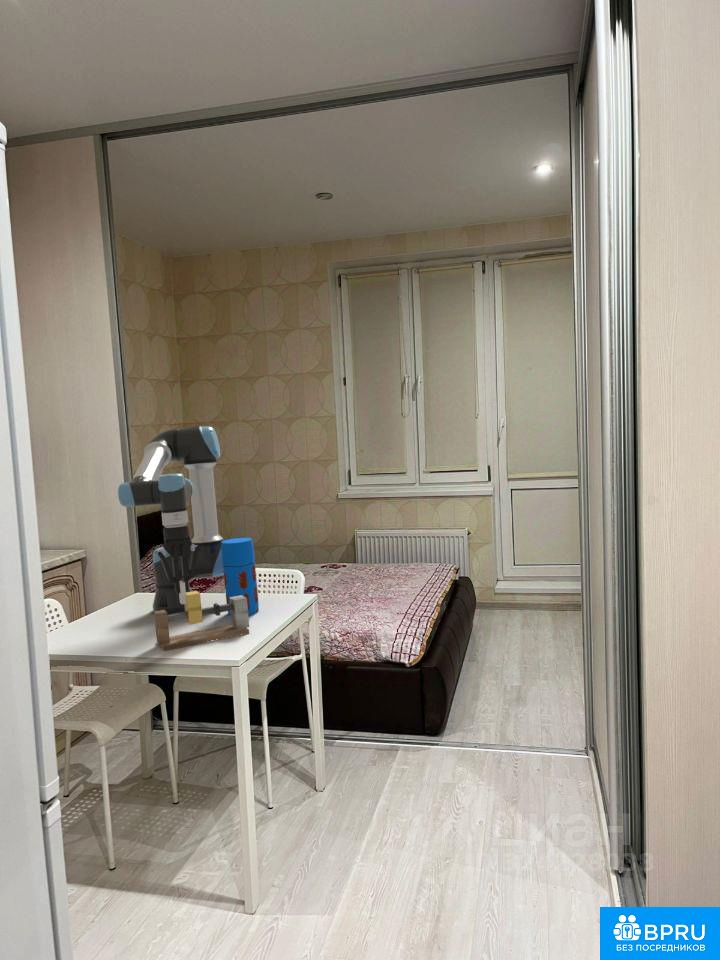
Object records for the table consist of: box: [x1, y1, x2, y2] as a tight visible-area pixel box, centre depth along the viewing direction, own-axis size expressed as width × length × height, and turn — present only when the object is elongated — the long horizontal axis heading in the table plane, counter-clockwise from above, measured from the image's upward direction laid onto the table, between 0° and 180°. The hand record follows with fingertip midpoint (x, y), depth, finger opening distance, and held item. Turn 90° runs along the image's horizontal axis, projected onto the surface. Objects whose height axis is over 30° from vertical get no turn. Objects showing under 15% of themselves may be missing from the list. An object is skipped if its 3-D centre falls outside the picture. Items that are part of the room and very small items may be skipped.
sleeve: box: [184, 590, 204, 625], centre depth 228 cm, size 4×4×9 cm
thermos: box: [221, 537, 260, 617], centre depth 257 cm, size 11×11×25 cm
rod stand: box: [153, 595, 250, 651], centre depth 229 cm, size 10×28×10 cm, turn 117°
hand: (183, 602), depth 226 cm, fingers closed
